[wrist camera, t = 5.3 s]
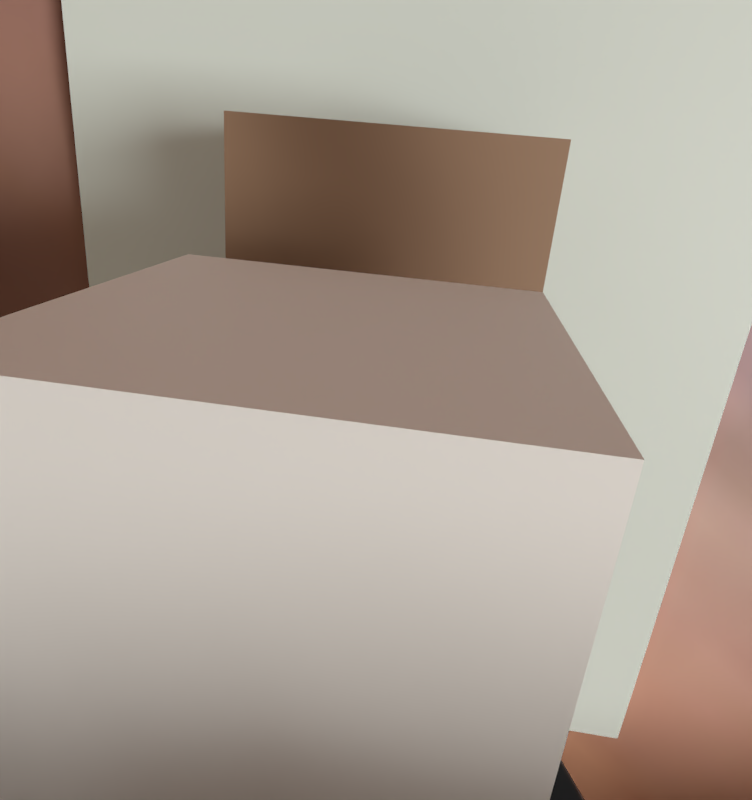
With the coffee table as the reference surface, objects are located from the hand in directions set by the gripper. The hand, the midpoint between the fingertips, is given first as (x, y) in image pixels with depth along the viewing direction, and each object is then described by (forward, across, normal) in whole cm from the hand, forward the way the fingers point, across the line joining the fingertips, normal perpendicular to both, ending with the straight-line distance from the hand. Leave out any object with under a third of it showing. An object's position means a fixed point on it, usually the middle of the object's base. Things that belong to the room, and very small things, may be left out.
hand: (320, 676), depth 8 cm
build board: (+9, 0, 0) cm, 9 cm away
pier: (+9, 0, -4) cm, 10 cm away
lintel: (+1, 0, 0) cm, 1 cm away
